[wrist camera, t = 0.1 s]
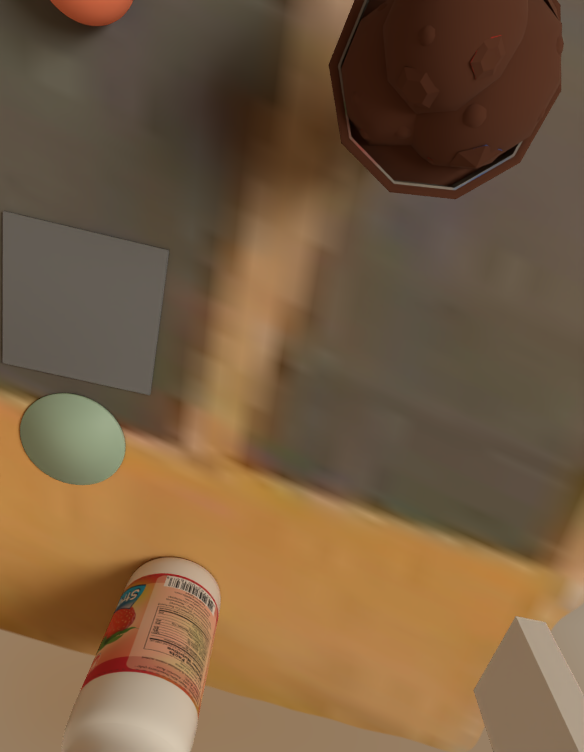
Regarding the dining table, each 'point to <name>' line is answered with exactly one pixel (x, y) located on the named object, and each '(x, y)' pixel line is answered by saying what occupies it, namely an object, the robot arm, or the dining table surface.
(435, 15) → the ice cream bowl
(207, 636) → the fruit juice
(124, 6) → the ball
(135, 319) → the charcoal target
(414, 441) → the dining table surface
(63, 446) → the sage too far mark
